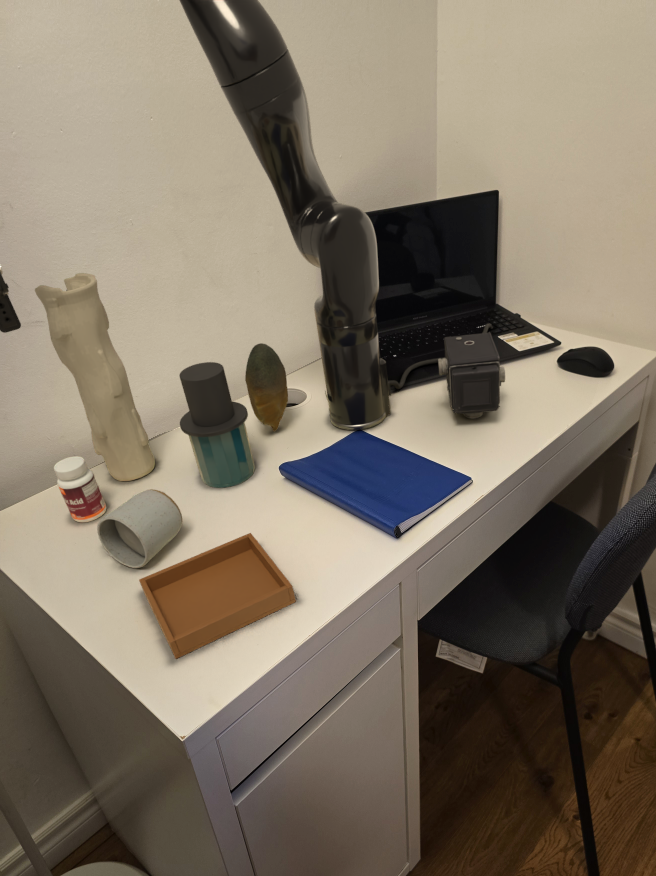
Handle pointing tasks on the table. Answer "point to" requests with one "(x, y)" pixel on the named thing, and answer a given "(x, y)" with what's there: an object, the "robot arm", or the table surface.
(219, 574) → the tray
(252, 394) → the decorative stone
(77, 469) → the pill bottle
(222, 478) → the cup
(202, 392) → the flanged dark cylinder
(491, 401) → the camera
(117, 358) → the vase
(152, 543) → the ceramic mug
